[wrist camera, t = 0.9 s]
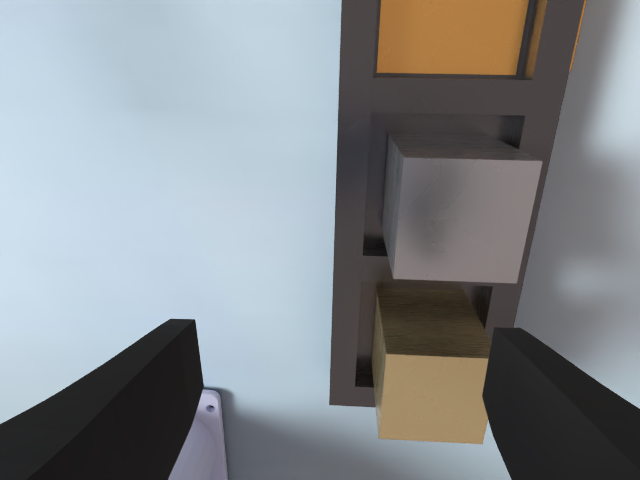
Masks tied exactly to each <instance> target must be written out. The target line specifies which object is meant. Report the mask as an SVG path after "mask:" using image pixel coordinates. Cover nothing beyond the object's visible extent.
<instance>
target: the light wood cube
mask: <svg viewBox="0 0 640 480" xmlns="http://www.w3.org/2000/svg"><path fill="white" fill-rule="evenodd" d="M490 348H491V340H490V338H489V337H488V335H487V333H486V331H485V329H484V327H483V325H482V323H481V322H480V320H479V318H478V316H477V314H476V312H475V310H474V308H473V307H472V305H471V303H470V301H469V299H468V297H467V295H466V294H465V292H464V290H441V289H415V288H389V287H376V300H375V313H374V327H373V340H372V354H371V361H372V372H373V383H374V393H375V404H376V414H377V425H378V436H379V439H395V440H414V441H433V442H452V443H471V444H483V440H484V435H485V430H486V426H487V421H488V416H487V413H486V409H485V405H484V402H483V398H482V393H483V387H484V382H485V376H486V370H487V365H488V359H489V353H490Z"/></svg>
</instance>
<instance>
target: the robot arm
mask: <svg viewBox="0 0 640 480" xmlns="http://www.w3.org/2000/svg"><path fill="white" fill-rule="evenodd" d="M203 387H204V385H203V377H202V370H201V362H200V354H199V346H198V338H197V331H196V323H195V320H194V319H170V320H168V321H166V322H165V323H163V324H161V325H160V326H158V327H157V328H155V329H154V330H152V331H151V332H150V333H148V334H147V335H145V336H144V337H142V338H141V339H139V340H138V341H137V342H135V343H134V344H132V345H131V346H129V347H128V348H126V349H125V350H123V351H122V352H120V353H119V354H118V355H116V356H115V357H113V358H112V359H110V360H109V361H107V362H106V363H104V364H103V365H101V366H100V367H98V368H97V369H95V370H93V371H92V372H90V373H89V374H87V375H85V376H84V377H82V378H81V379H79V380H78V381H76V382H74V383H73V384H71V385H70V386H68V387H66V388H65V389H63V390H62V391H60V392H58V393H57V394H55V395H53V396H51V397H50V398H48V399H46V400H45V401H43V402H41V403H39V404H37V405H36V406H34V407H32V408H30V409H28V410H26V411H24V412H23V413H21V414H19V415H17V416H15V417H13V418H11V419H9V420H8V421H6V422H4V423H2V424H0V480H228V475H227V464H226V453H225V442H224V431H223V420H222V409H221V398H220V395H219V394H218V392H216V391H214V390H203ZM482 398H483V402H484V405H485V409H486V413H487V416H488V420H489V423H490V427H491V430H492V433H493V437H494V439H495V441H496V444H497V446H498V449H499V451H500V453H501V456H502V458H503V461H504V463H505V465H506V468H507V470H508V472H509V475H510V477H511V479H512V480H640V409H639V408H637V407H636V406H634V405H633V404H631V403H630V402H628V401H626V400H625V399H623V398H622V397H620V396H619V395H617V394H616V393H614V392H613V391H611V390H610V389H608V388H607V387H605V386H604V385H602V384H601V383H599V382H598V381H596V380H595V379H593V378H592V377H590V376H589V375H588V374H586V373H585V372H583V371H582V370H580V369H579V368H578V367H576V366H575V365H573V364H572V363H571V362H569V361H568V360H566V359H565V358H564V357H562V356H561V355H559V354H558V353H557V352H555V351H554V350H552V349H551V348H550V347H548V346H547V345H545V344H544V343H542V342H541V341H540V340H538V339H537V338H535V337H534V336H532V335H531V334H529V333H528V332H526V331H524V330H523V329H521V328H499V327H494V331H493V337H492V342H491V348H490V353H489V359H488V365H487V370H486V376H485V382H484V387H483V393H482ZM209 405H212V406H214V407H210V406H209Z"/></svg>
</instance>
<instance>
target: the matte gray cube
mask: <svg viewBox="0 0 640 480" xmlns="http://www.w3.org/2000/svg"><path fill="white" fill-rule="evenodd" d="M542 162H543V161H541V160H539V159H537V158H535V157H533V156H531V155H529V154H527V153H525V152H523V151H521V150H518V149H516V148H514V147H512V146H510V145H508V144H506V143H504V142H502V141H500V140H498V139H495V138H493V137H491V136H489V135H454V134H411V133H388V137H387V151H386V164H385V178H384V191H383V205H382V218H381V229H382V233H383V237H384V242H385V246H386V250H387V255H388V259H389V263H390V268H391V272H392V276H393V279H410V280H437V281H464V282H491V283H517V280H518V275H519V270H520V266H521V261H522V256H523V252H524V247H525V242H526V237H527V233H528V228H529V223H530V219H531V214H532V209H533V204H534V200H535V195H536V190H537V186H538V181H539V176H540V171H541V167H542Z"/></svg>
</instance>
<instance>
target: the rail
mask: <svg viewBox="0 0 640 480" xmlns="http://www.w3.org/2000/svg"><path fill="white" fill-rule="evenodd" d="M585 5H586V0H342V11H341V44H340V76H339V109H338V141H337V174H336V206H335V239H334V272H333V304H332V337H331V369H330V402H329V405H341V406H361V407H376V404H375V393H374V383H373V372H372V361H371V354H372V340H373V327H374V313H375V300H376V287H389V288H415V289H441V290H464V292H465V294H466V295H467V297H468V299H469V301H470V303H471V305H472V307H473V308H474V310H475V312H476V314H477V316H478V318H479V320H480V322H481V323H482V325H483V327H484V329H485V331H486V333H487V335H488V337H489V338H490V340H491V342H492V337H493V331H494V327H499V328H513V326H514V321H515V317H516V312H517V307H518V303H519V298H520V294H521V289H522V285H523V280H524V275H525V271H526V266H527V262H528V257H529V252H530V248H531V243H532V239H533V234H534V230H535V225H536V220H537V216H538V211H539V207H540V202H541V197H542V193H543V188H544V184H545V179H546V175H547V170H548V165H549V161H550V156H551V152H552V147H553V143H554V138H555V133H556V129H557V124H558V120H559V115H560V110H561V106H562V101H563V97H564V92H565V88H566V83H567V78H568V74H569V70H571V68H572V64H573V59H574V55H575V50H576V46H577V41H578V37H579V32H580V27H581V23H582V18H583V14H584V9H585ZM388 133H411V134H454V135H489V136H491V137H493V138H495V139H498V140H500V141H502V142H504V143H506V144H508V145H510V146H512V147H514V148H516V149H518V150H521V151H523V152H525V153H527V154H529V155H531V156H533V157H535V158H537V159H539V160H541V161H543V162H542V167H541V171H540V176H539V181H538V186H537V190H536V195H535V200H534V204H533V209H532V214H531V219H530V223H529V228H528V233H527V237H526V242H525V247H524V252H523V256H522V261H521V266H520V270H519V275H518V280H517V283H491V282H464V281H437V280H410V279H393V276H392V272H391V268H390V263H389V259H388V255H387V250H386V246H385V242H384V237H383V233H382V229H381V218H382V205H383V191H384V178H385V164H386V151H387V137H388Z"/></svg>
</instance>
